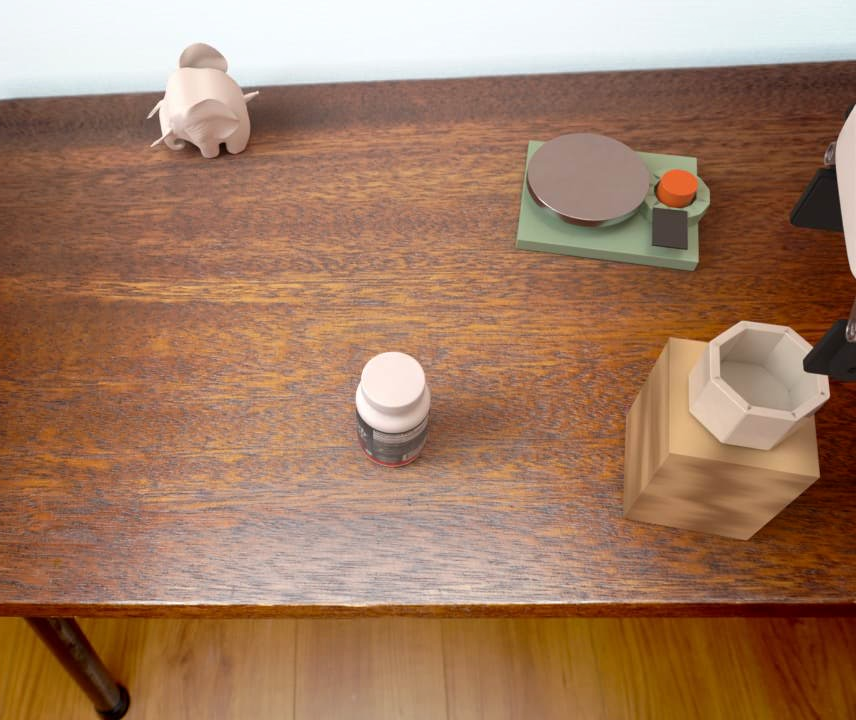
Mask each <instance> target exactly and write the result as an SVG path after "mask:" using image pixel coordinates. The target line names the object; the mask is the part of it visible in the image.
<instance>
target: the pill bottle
mask: <svg viewBox="0 0 856 720" xmlns="http://www.w3.org/2000/svg"><path fill="white" fill-rule="evenodd" d="M426 379H427V378H426V374H425V371H424V369H423V366H422V365H421V364H420V362H419V361H417V360H416V359H415V358H414V357H412V356H411V355H409V354H406V353H405V352H400V351H386V352H382V353H379V354H377V355H375V356H374V357H372V358H371V359H369V360H368V361H367V362H366V364H365V365H364V367H363V370H362V372H361V376H360V382H359V383H358V386H357V388H356V391H355V398H354V399H355V419H356V420H355V421H356V437H357V443H358V445H359V447H360V449H361V451H362V453H363V454H364V455H365V456H366V457H367V458H368V459H369V460H370V461H372V462H373V463H375V464H378V465H380V466H383V467H389V468H397V467H403V466H405V465H408V464H410V463H411V462H413V461H414V460H416V459H417V458H418V457H419V456H420V455H421V454H422V452H423V450H424V448H425V446H426V443H427V439H428V438H427V437H428V429H429V419H430V411H431V399H432V398H431V391H430V388H429V385H428V383H427V382H426V381H427V380H426Z"/></svg>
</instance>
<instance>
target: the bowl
mask: <svg viewBox="0 0 856 720" xmlns="http://www.w3.org/2000/svg"><path fill="white" fill-rule="evenodd" d="M708 343H709V344H708V346H707V347H706V349H705V350H704V352H703V353H702V355H701V357H700V358H699V360H698V361H697V363H696V364H695V366H694V368H693V369H692V371H691V372H690V374H689V411H690V413H691V414H692V415H694V416H695V417H696V418H697V419H698V420H699V421H700V422H701V423H702V424H703V425H704V426H705V427H706V428H707V429H708V430H709V431H710V432H711V433H712V434H713V435H714V436H715V437H716V438H717V439H718V440H719V441H720V442H721V443H724V444H730V445H737V446H743V447H749V448H755V449H762V450H770V449H772V448H773V447H775V446H776V445H777V444H779V443H780V442H782V441H783V440H784V439H786V438H787V437H789V436H790V435H791V434H793V433H794V432H796V431H797V430H798V429H800V428H801V427H802V426H803V425H804V424H805V423H806V421H807V420H808V419H809V418H810V417H811V416H812V415H813V414H814V415H815V414H816V412H817V411H819V409H821V407H822V406H823V405H824V404H825V403H827V401H828V400H829V399H830V397H831V391H830V384H829V382H830V381H829V376H827V375H820V374H813V373H807V372H805V371H804V370H803V359H804V358H805V357H806V355H807V354H808V353H809V352H810V351H811V350H812V348H813V347H814V346H813V345H811V344H810V343H809V342H808V341H807V340H806V339H805V338H803V337H802V336H801V335H800V334H798V333H797V332H796V331H795V330H794V329H793V328H792V327H791V326H785V325H778V324H771V323H763V322H758V321H757V322H756V321H751V320H750V321H749V320H740V321H739V322H737V323H736V324H734V325H733V326H731V327H730V328H728V329H726V330H724V331H723V332H722V333H720V334H719V335H717V336H716V337H715V338H713V339H711V340H710V341H709V342H708Z"/></svg>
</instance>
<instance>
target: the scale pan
mask: <svg viewBox="0 0 856 720" xmlns="http://www.w3.org/2000/svg"><path fill="white" fill-rule="evenodd" d="M545 142H546V143H545V144H543V145H542V146H541V147H539V148H538V149H537V151H536V152H535V153H534V154H533V156H532V157H531V159H530V162H529V165H528V170H527V174H526V183H527V188H528V191H529V193H530V195H531V197H532V199H533V200H534V202H535V203H536V204H537V205H538V206H539V207H540V208H541V209H542V210H543V211H544V212H546V213H547V214H549V215H550V216H552V217H553V218H555V219H557V220H560V221H562V222H565V223H568V224H571V225H575V226H581V227H604V226H609V225H614V224H617V223H619V222H622V221H624V220H626V219H628V218H629V217H631V216H632V215H634V214H635V213H636V212H637V211H638V210H639V209H640V207H641V206H642V204H643V202H644V201H645V198H646V196H647V193H648V190H649V185H650V178H649V173H648V170H647V167H646V165H645V163H644V162H643V160H642V159H641V158H640V157H639V155H638V154H637V153H636V152H635V150H634V149H632V148H631V147H629V146H628V145H627V144H626V143H625V144H624V143H623V142H622V141H619V140H618V139H615V138H613V137H609V136H607V135H602V134H597V133H592V132H591V133H590V132H575V133H567V134H564V135H563V134H562V135H560V136H557V137H556V136H555V137H554V138H552V139H549V140H548V141H545ZM652 246H658V247H666V248H674V249H682V250H688V211H681V210H673V209H664V208H655V207H653V208H652Z"/></svg>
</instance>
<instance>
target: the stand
mask: <svg viewBox="0 0 856 720" xmlns="http://www.w3.org/2000/svg"><path fill="white" fill-rule="evenodd" d="M708 344H709V342H707V341H701V340H693V339H687V338H678V337H671V336H670V337H669V338H668V340H667V342H666V344H665V345H664V347H663V349H662V351H661V353H660V354H659V356H658V357H657V360H656V362H655V364H654V365H653V367H652V368H651V371H650V372H649V374H648V376H647V378H646V380H645V381H644V383H643V385H642V387H641V388H640V390H639V392H638V394H637V396H636V398H635V400H634V401H633V403H632V404H631V407H630V408H629V410H628V412H627V413H626V415H625V431H624V432H625V434H624V435H625V436H624V437H625V438H624V463H623V491H622V519H625V520H630V521H634V522H635V521H636V522H639V523H645V524H652V525H658V526H663V527H668V528H674V529H679V530H685V531H691V532H697V533H703V534H708V535H714V536H720V537H723V538H724V537H725V538H729V539H736V540H742V541H749V539H751V538H752V537H753V536H754V535H756V533H757V532H758V531H760V530H761V529H762V528H764V527H765V525H767V524H768V523H769V522H770V521H771V520H773V519H774V518H775V517H776V516H777V515H778V514H779V513H780V512H782V511H783V510H784V509H785V508H786V507H788V505H790V504H791V503H792V502H793V501H795V500H796V499H797V498H798V497H799V496H800V495H802V494H803V493H804V492H805V491H806V490H807V489H808V488H809V487H811V486H812V485H813V484H814V483H815V482H817V481H818V479H820V478H821V472H820V463H819V452H818V450H819V449H818V442H817V441H818V440H817V430H816V421H815V419H816V418H815V413H814V414H813V415H812V416H811V417H810V418H809V419H808V420H807V421H806V423H805V424H804V425H803V426H802V427H801V428H800V429H798V430H797V431H796V432H794V433H793V434H791V435H790V436H789V437H787V438H786V439H784V440H783V441H782V442H780V443H779V444H777V445H776V446H775V447H773V448H772V449H770V450H762V449H755V448H749V447H743V446H737V445H730V444H724V443H721V442H720V441H719V440H718V439H717V438H716V437H715V436H714V435H713V434H712V433H711V432H710V431H709V430H708V429H707V428H706V427H705V426H704V425H703V424H702V423H701V422H700V421H699V420H698V419H697V418H696V417H695V416H694V415H692V414H691V413H690V411H689V374H690V372H691V371H692V369H693V368H694V366H695V364H696V363H697V361H698V360H699V358H700V357H701V355H702V353H703V352H704V350H705V349H706V347H707V346H708Z"/></svg>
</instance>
